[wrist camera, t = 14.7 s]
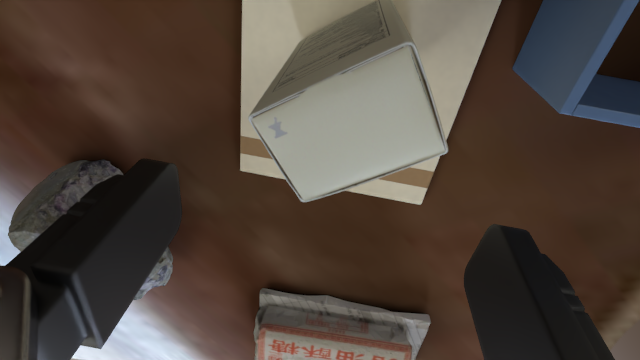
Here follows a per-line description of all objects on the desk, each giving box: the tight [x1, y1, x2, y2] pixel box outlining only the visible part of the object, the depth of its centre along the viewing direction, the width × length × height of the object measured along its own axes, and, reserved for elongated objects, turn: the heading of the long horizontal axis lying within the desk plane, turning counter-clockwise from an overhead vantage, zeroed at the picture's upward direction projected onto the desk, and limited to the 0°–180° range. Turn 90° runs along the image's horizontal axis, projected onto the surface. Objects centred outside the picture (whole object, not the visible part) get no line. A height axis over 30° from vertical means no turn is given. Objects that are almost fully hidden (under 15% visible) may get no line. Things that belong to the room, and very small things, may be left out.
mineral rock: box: [8, 160, 173, 300], centre depth 30 cm, size 13×11×10 cm
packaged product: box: [253, 288, 431, 360], centre depth 38 cm, size 18×5×10 cm
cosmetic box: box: [248, 0, 448, 202], centre depth 17 cm, size 6×4×12 cm
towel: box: [240, 0, 501, 205], centre depth 23 cm, size 15×22×1 cm
